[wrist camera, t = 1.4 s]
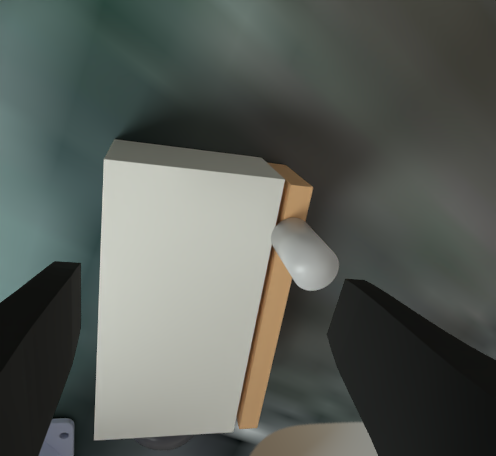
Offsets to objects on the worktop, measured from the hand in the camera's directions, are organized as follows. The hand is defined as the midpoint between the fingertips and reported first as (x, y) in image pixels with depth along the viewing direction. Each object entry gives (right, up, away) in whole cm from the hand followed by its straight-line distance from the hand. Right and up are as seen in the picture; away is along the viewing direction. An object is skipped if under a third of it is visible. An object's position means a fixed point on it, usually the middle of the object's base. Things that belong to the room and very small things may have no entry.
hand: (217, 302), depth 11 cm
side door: (+1, -1, +12) cm, 12 cm away
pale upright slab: (-3, -1, +10) cm, 11 cm away
